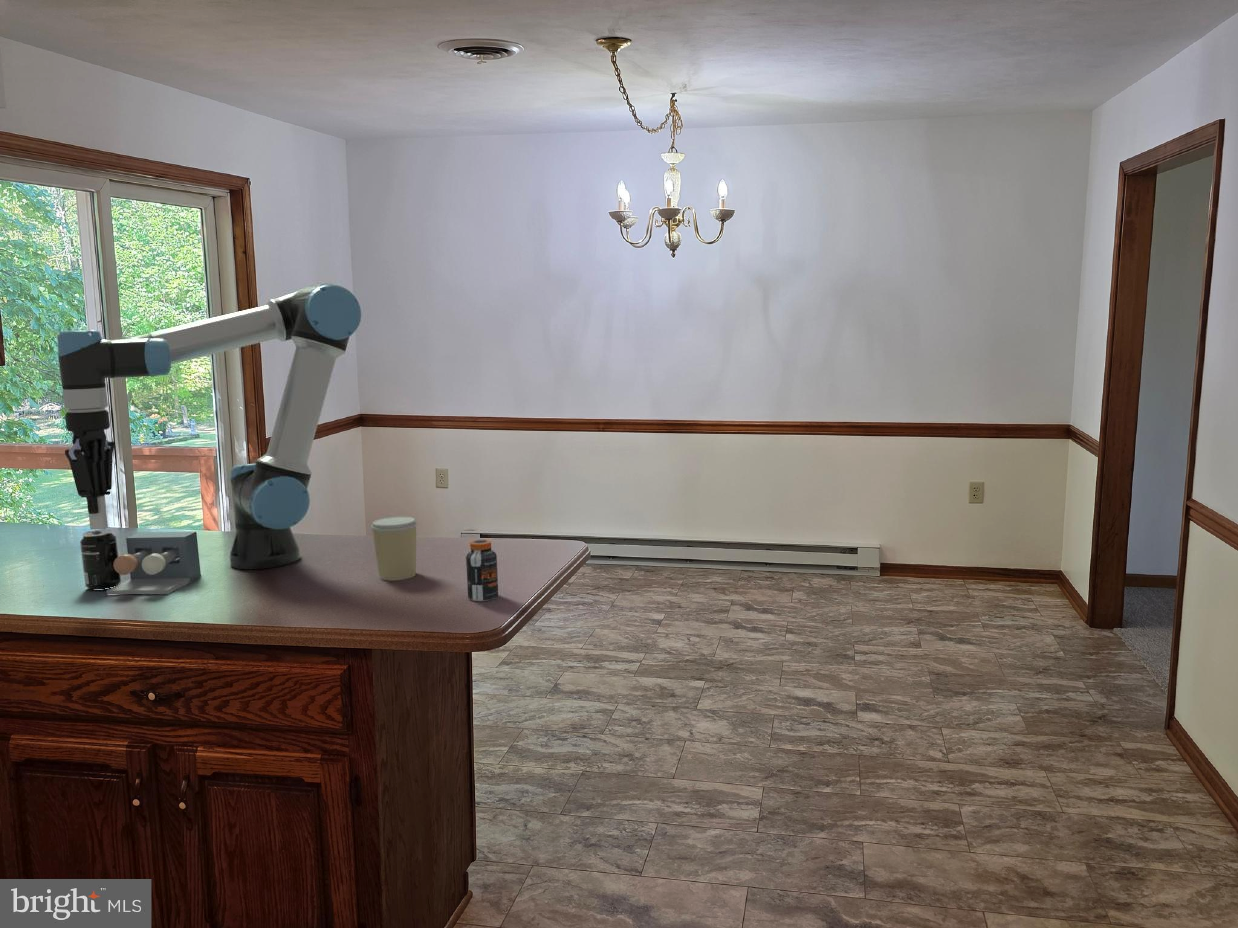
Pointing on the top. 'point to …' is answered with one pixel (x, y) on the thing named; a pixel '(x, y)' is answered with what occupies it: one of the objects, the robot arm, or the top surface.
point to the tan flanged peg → (130, 561)
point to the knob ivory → (159, 561)
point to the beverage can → (99, 559)
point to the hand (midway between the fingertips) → (99, 528)
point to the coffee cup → (395, 547)
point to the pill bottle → (482, 571)
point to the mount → (173, 572)
